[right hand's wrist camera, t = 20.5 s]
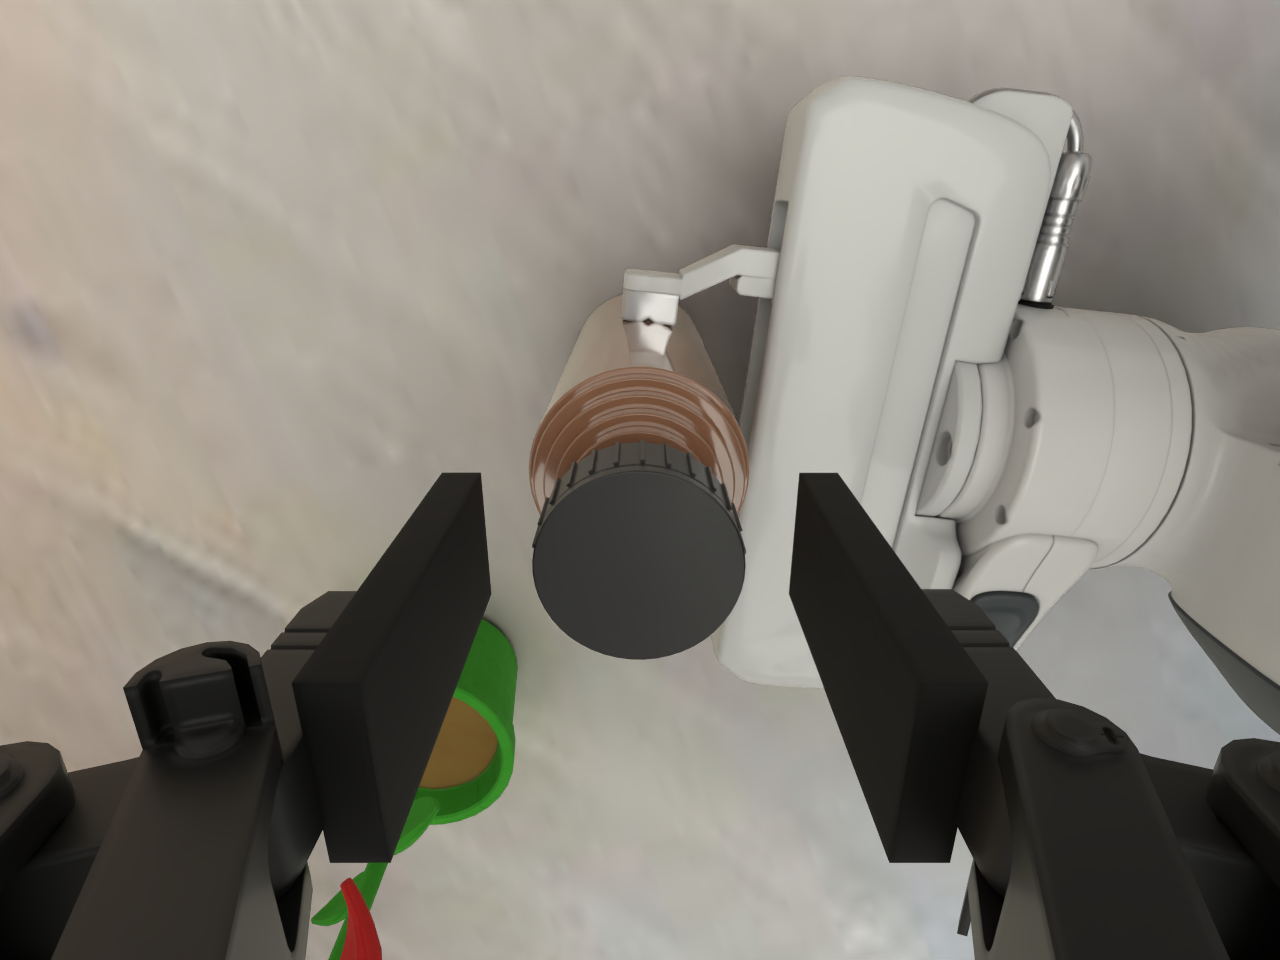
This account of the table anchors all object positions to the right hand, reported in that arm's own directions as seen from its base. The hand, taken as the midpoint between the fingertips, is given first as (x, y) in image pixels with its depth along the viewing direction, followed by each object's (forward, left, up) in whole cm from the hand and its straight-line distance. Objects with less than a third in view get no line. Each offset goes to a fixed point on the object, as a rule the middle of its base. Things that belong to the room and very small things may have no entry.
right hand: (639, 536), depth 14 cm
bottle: (0, 0, -18) cm, 18 cm away
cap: (0, 0, +1) cm, 1 cm away
